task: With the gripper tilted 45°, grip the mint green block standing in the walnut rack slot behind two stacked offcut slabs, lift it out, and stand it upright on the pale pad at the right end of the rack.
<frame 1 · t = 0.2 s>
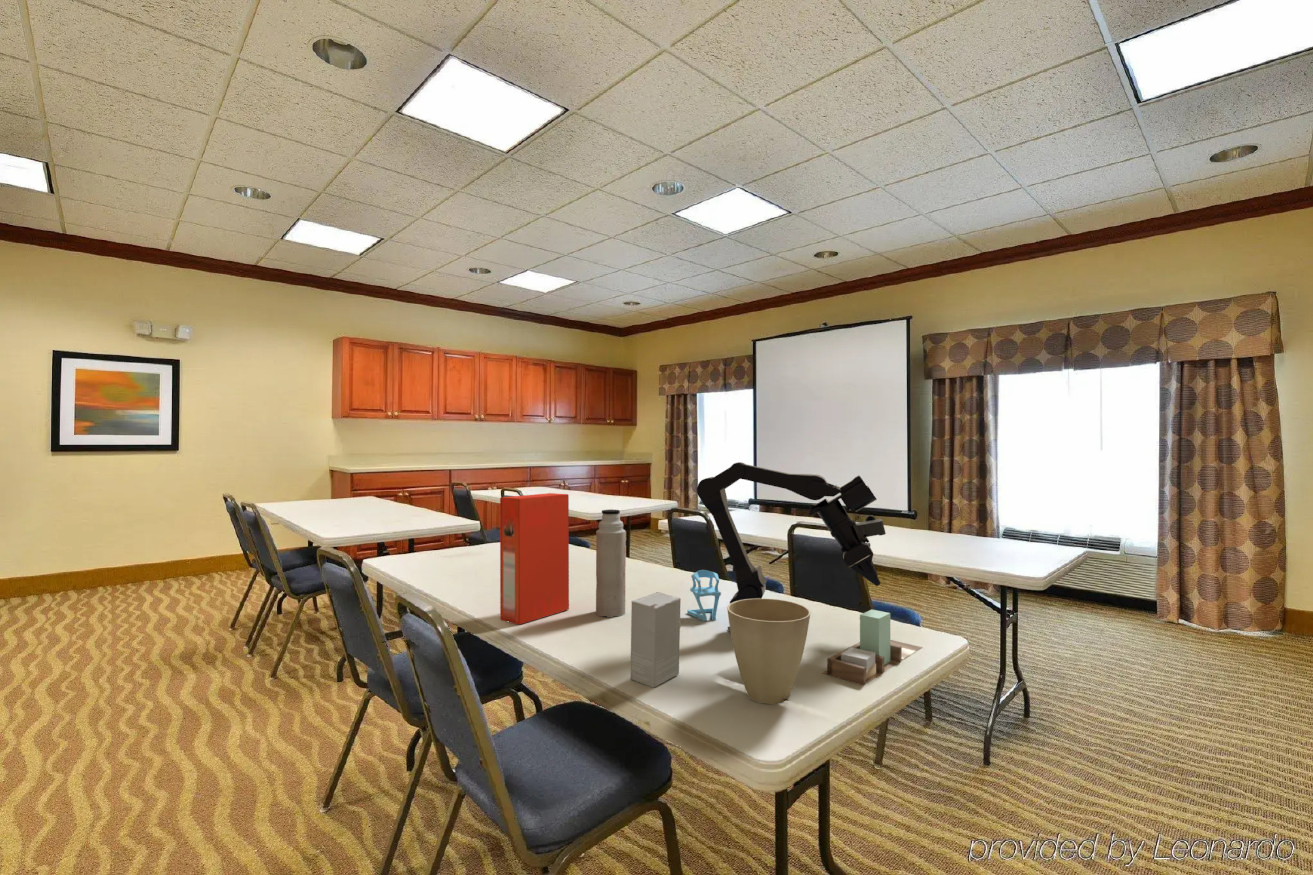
hand: (877, 580, 139), 15 cm above the table, tool tilted 35°, fingers open, 9 cm apart
thermos bottle: (610, 613, 164), on the table
skincare box: (655, 679, 118), on the table
grey offcut slab: (858, 663, 118), point 3 cm above the table, touching birch offcut slab
file binder: (535, 615, 162), on the table
plant pot: (768, 697, 110), on the table
mint green block: (875, 662, 124), point 1 cm above the table, touching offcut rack
chair: (705, 617, 161), on the table
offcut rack: (875, 667, 124), on the table
birch offcut slab: (858, 673, 118), point 1 cm above the table, touching grey offcut slab, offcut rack
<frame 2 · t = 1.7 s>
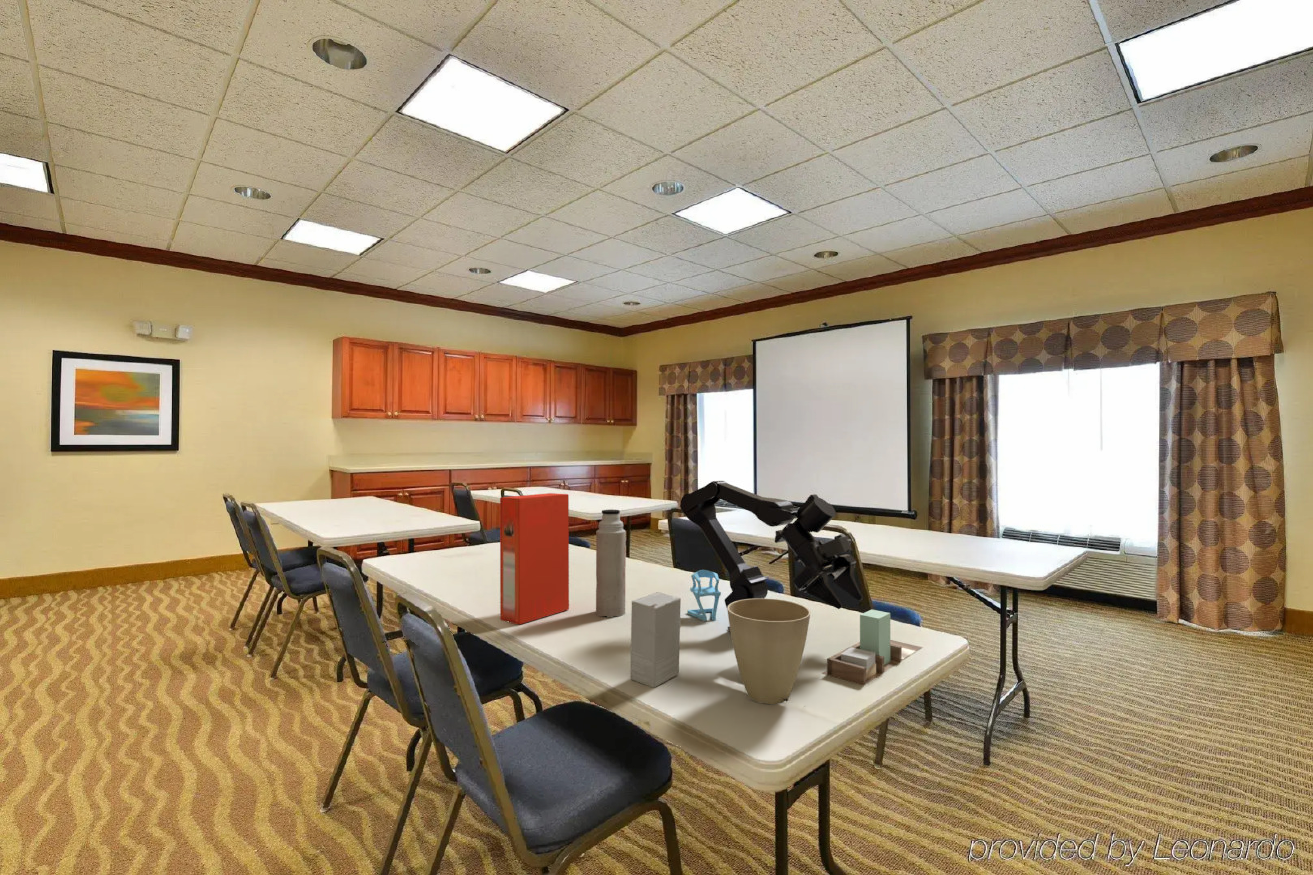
hand: (851, 603, 128), 12 cm above the table, tool tilted 45°, fingers open, 9 cm apart
nothing on the table moved.
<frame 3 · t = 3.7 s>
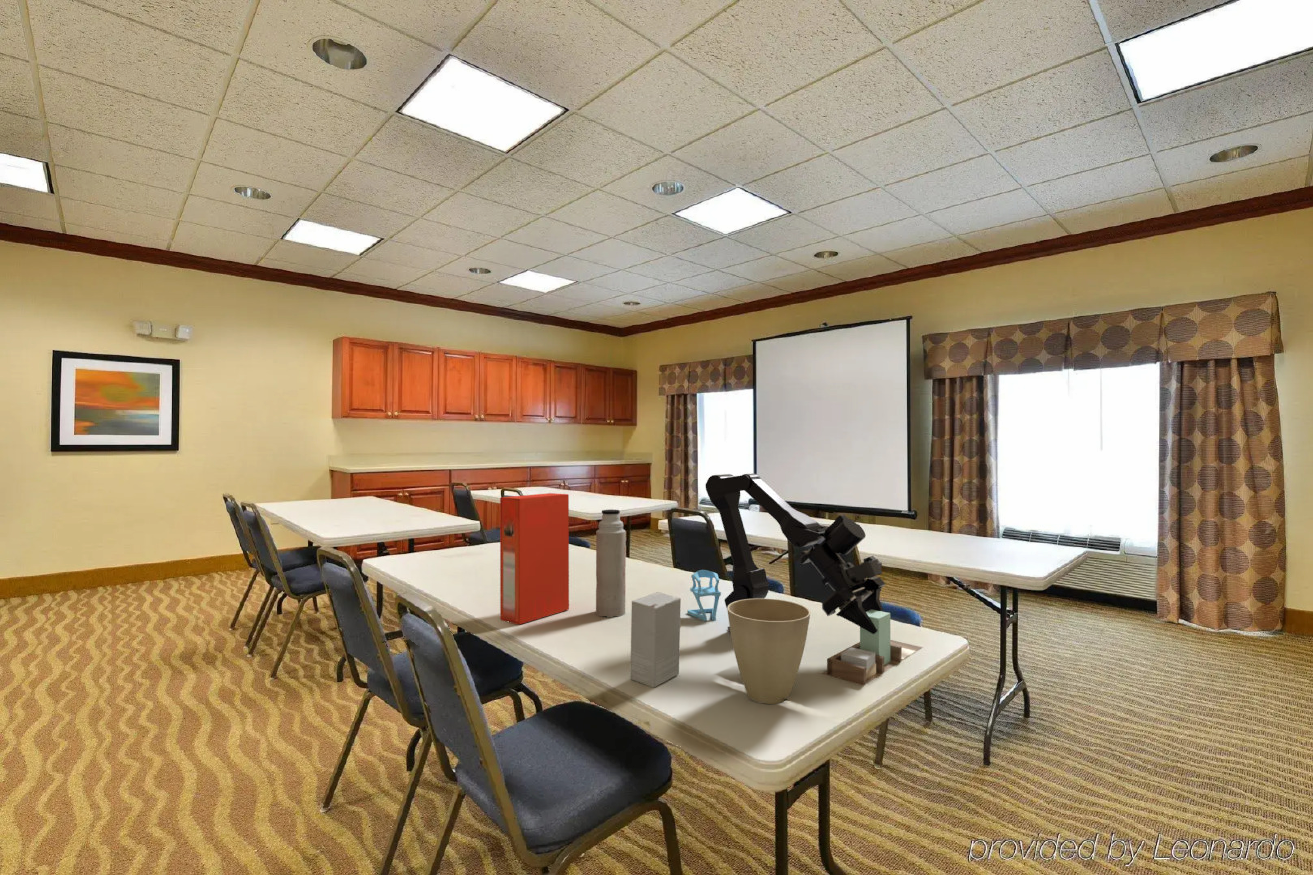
hand: (881, 629, 124), 8 cm above the table, tool tilted 45°, fingers closed on mint green block, 5 cm apart
mint green block: (875, 662, 124), point 1 cm above the table, touching gripper, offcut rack
everything else where it was.
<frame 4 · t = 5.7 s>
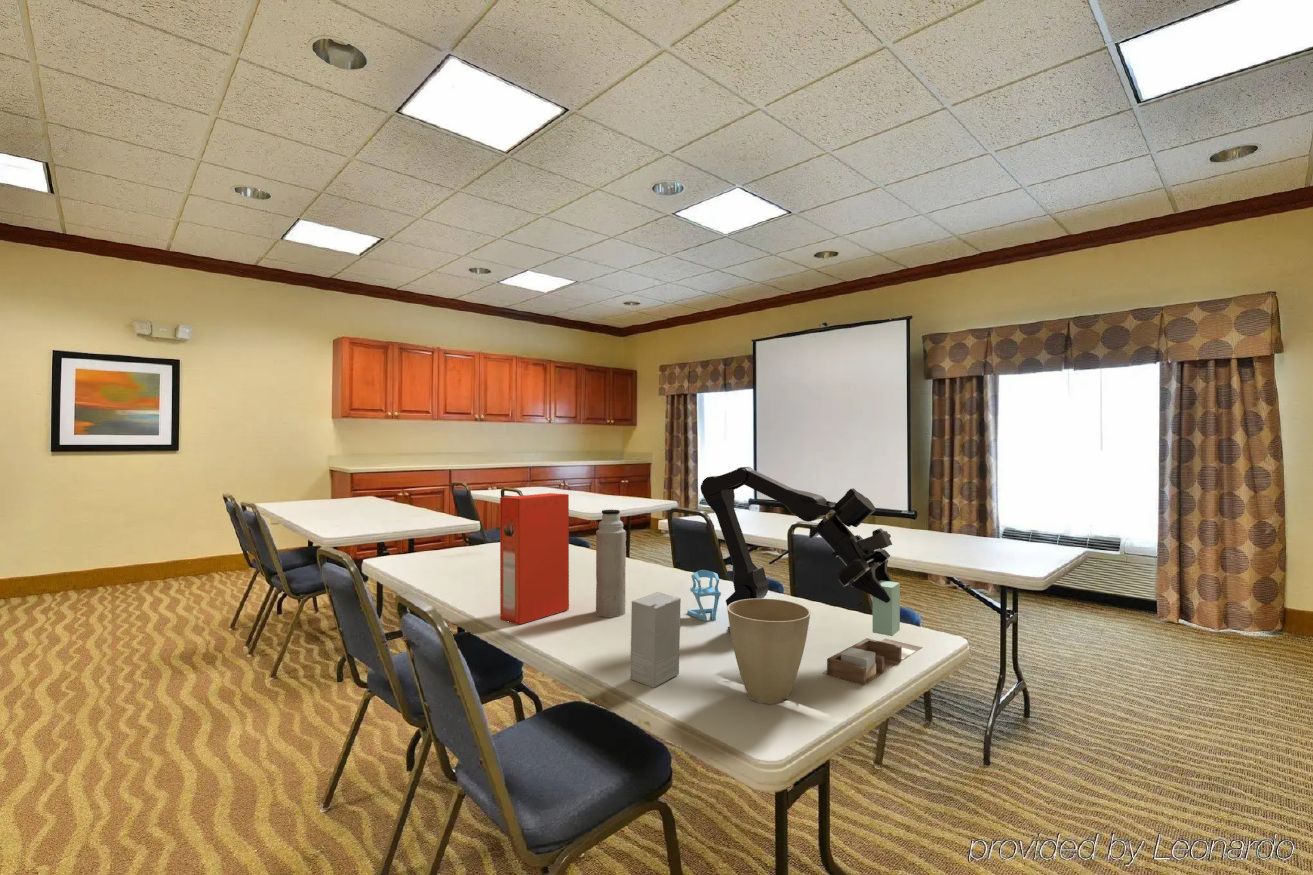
hand: (893, 598, 127), 14 cm above the table, tool tilted 45°, fingers closed on mint green block, 5 cm apart
mint green block: (886, 631, 128), point 6 cm above the table, touching gripper
everything else where it was.
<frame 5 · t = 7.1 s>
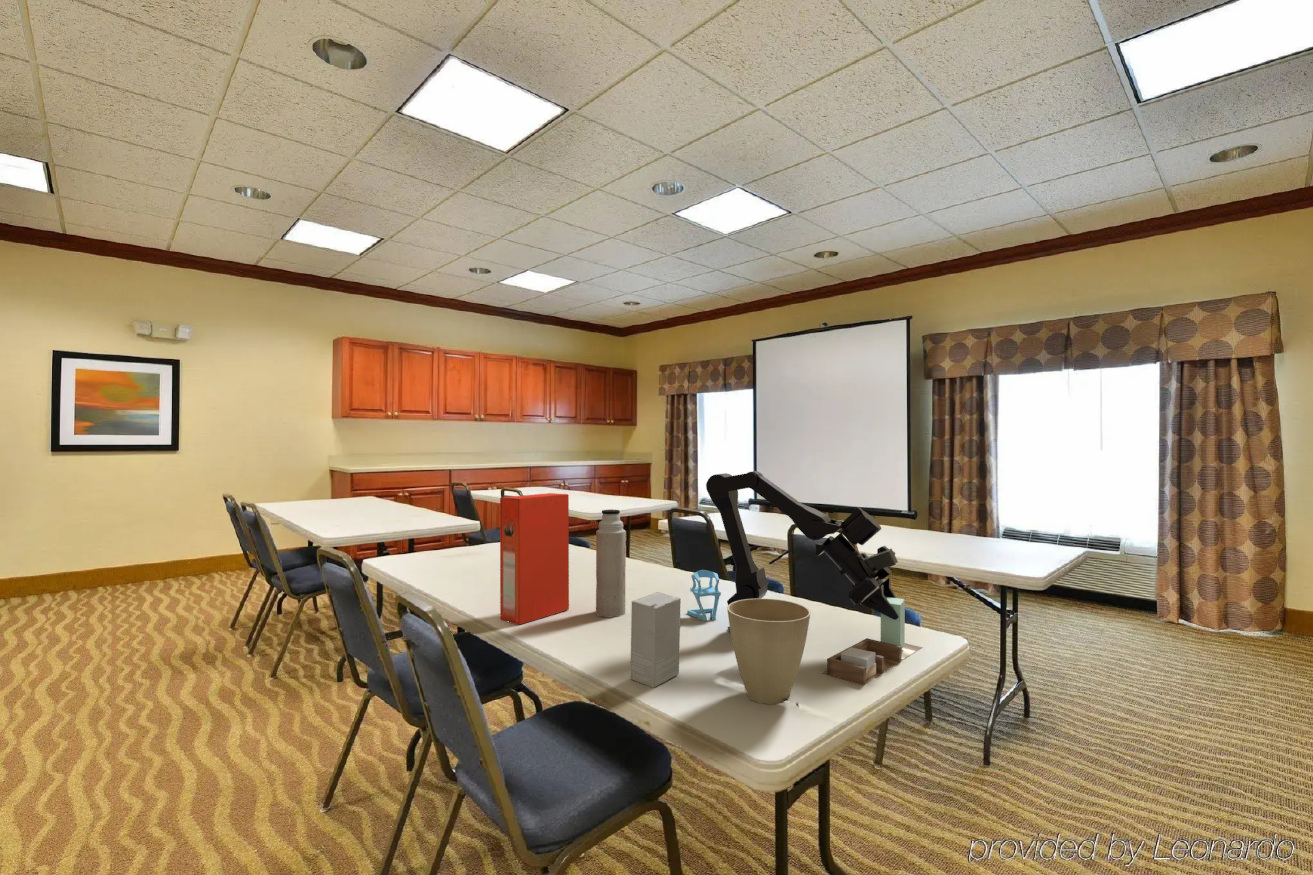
hand: (899, 615, 130), 9 cm above the table, tool tilted 45°, fingers closed on mint green block, 5 cm apart
mint green block: (892, 646, 131), point 2 cm above the table, touching gripper
everything else where it was.
when the fingers open (9 cm above the table, at t = 8.0 s): mint green block stays where it is, resting on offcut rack.
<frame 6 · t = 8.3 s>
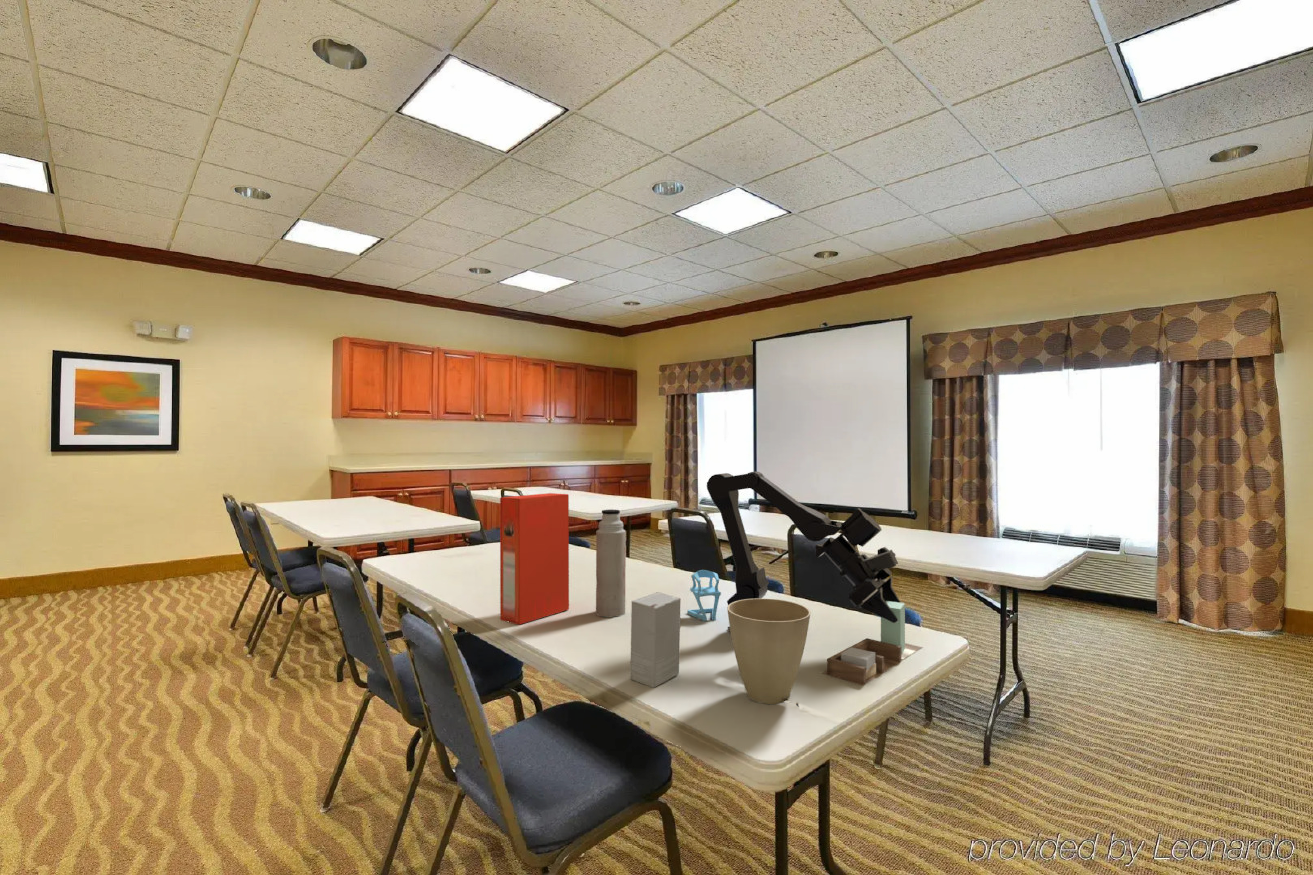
hand: (899, 616, 130), 9 cm above the table, tool tilted 45°, fingers open, 9 cm apart
mint green block: (892, 650, 131), point 1 cm above the table, touching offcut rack
everything else where it was.
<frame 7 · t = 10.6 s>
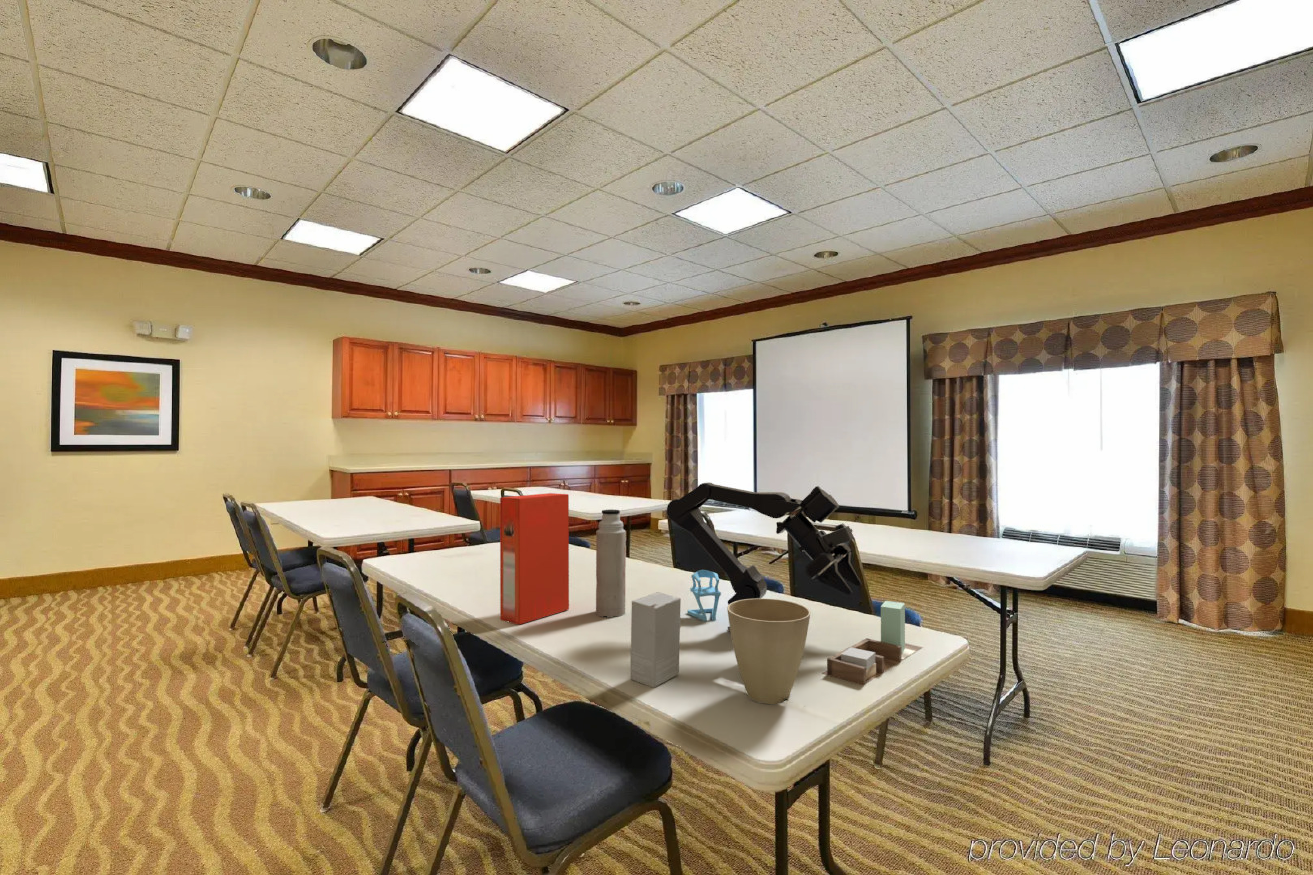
hand: (855, 589, 135), 13 cm above the table, tool tilted 45°, fingers open, 9 cm apart
nothing on the table moved.
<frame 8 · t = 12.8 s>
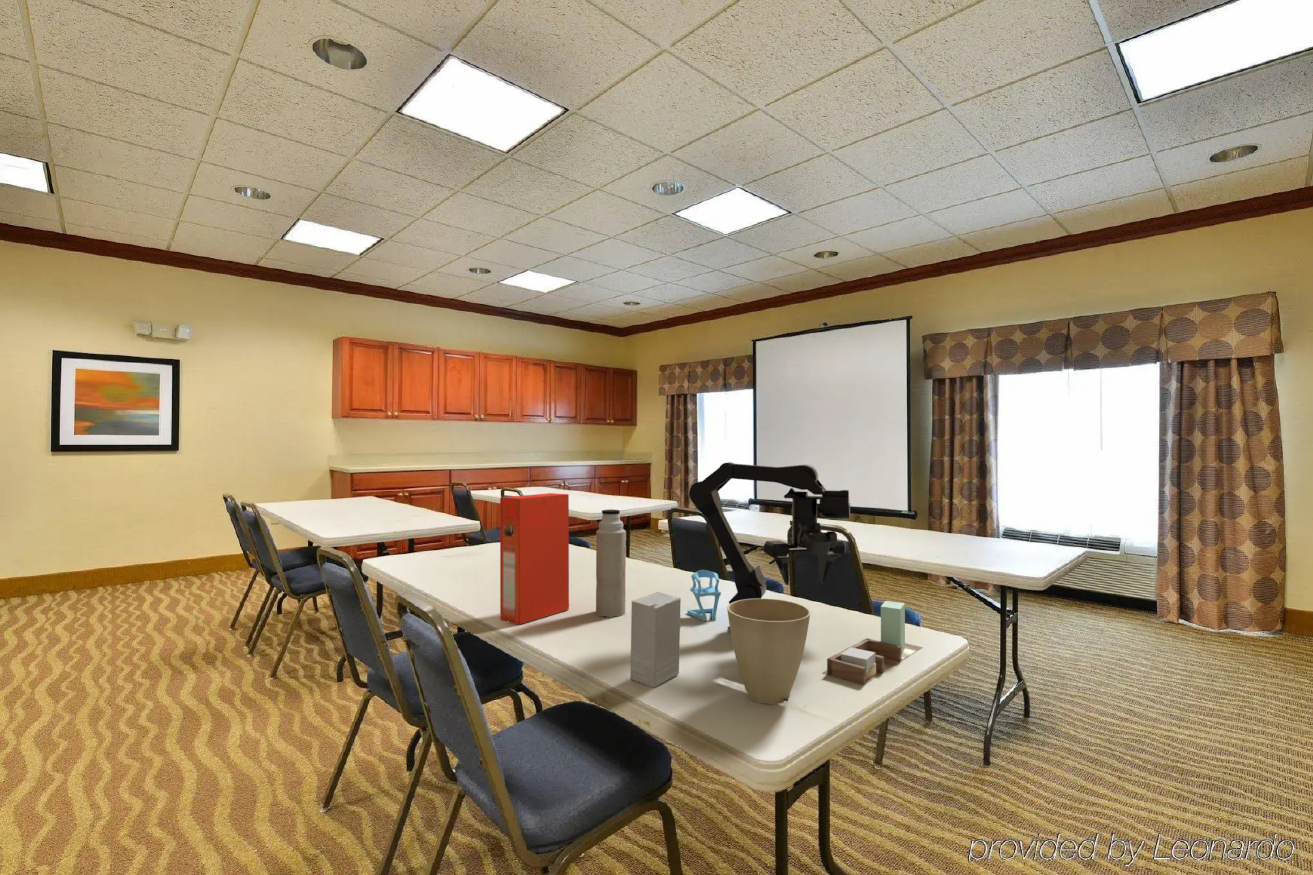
hand: (804, 583, 143), 13 cm above the table, tool pointing down, fingers open, 9 cm apart
nothing on the table moved.
at the end: mint green block 0.0 cm from the target spot, point 1.1 cm above the table; mint green block tilted 0°; grey offcut slab moved 0.0 cm from its start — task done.
